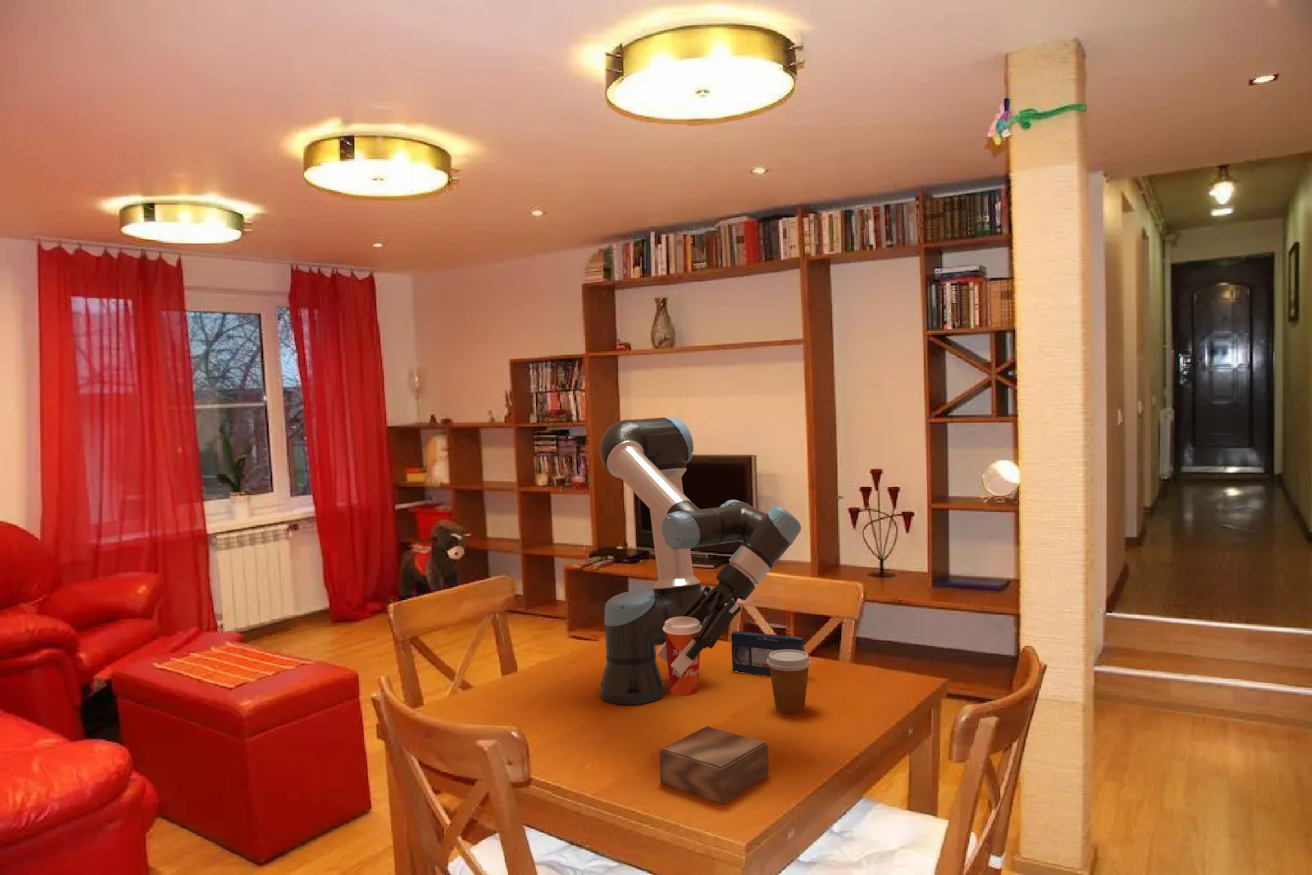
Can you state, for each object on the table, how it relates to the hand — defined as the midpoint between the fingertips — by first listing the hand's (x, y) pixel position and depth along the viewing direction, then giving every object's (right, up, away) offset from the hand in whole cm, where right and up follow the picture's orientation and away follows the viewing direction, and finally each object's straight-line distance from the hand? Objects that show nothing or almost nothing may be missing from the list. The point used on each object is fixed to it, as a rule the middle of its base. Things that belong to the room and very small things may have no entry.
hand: (668, 663), depth 174 cm
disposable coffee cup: (+27, -16, +22) cm, 38 cm away
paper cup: (+3, -6, +2) cm, 7 cm away
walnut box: (+8, -18, -12) cm, 23 cm away
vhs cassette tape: (+25, -15, +46) cm, 54 cm away
